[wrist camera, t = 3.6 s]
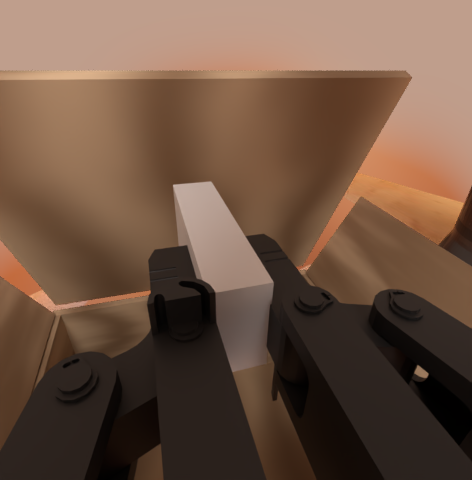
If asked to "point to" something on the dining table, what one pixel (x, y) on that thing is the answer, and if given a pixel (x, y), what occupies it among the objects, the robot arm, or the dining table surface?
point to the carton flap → (173, 162)
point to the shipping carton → (260, 377)
